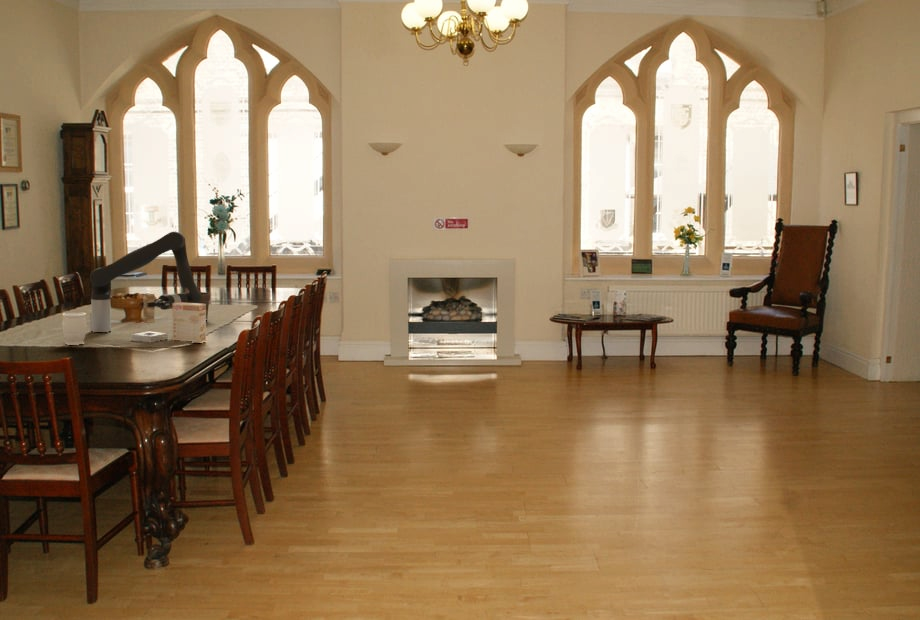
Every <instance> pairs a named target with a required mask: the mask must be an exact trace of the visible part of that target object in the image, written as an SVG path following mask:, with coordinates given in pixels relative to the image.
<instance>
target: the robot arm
mask: <svg viewBox="0 0 920 620" xmlns="http://www.w3.org/2000/svg"><path fill="white" fill-rule="evenodd" d="M169 251H171V252H172V254H173V257H174V259H175V264H176V272H177V276H178V280H179V284H180V286H181V288H182V289H184V290H185V289H187V290H188V291H189V293H187V292H185V293H186V294H182V293H183V292H182V293H180V292H179V293H166V294H161V295H160V296H159V297H158V298H154V302H151V303H148V304H147V307H154V308H160V310H165V311H166V310H167V311H168V310H172V303H178V302H183V303H200V302H201V300H202V296H201V293H200V292H201V291H200V289H199V288H198V286H197V285H196V283H195V280H194V275H193V273H192V272H193V271H192V270H191V267H190V263H189V259H188V255H187V254H188V253H187V246H186V238H185V237H184V235H183V234H181V232H178V231H170V232H168V233H167V234H165V235H164V236H162V237H160V238H159V239H156V240H155V241H153V242H151V243H149V244H146V245H143V246H141V247H140V248H137V249H135V250H133V251H131V252H128V253H126V254H125V255H123V256H122V257H120V258H119V259H117V260H116V261H114V262H112V263H110V264H108V265H106V266H105V265H104V266H102V267H97V268H96V269H94V270H92V271H91V273H90V275H89V281H90V283H91V294H90V296H91V297H90V303H91V305H90V306H91V311H90V312H91V313H89V325H90V326H89V327H90V328H89V329H90V330H89V331H90V332H91V331H93V332H92V333H94V332H107V333H109V332H108V331H112V328H111V327H112V323H111V320H112V319H111V317H112V315H111V309H112V308H111V292H112V281H113V280H115V279H117V278H118V277H120V276H123V275H125V274H129V273H131V272H134V271H136V270H138V269H141V268H143V267H145V266H147V265H148V264H150V263H151V262H153V261H154V260H155V259H157V257H159V256H161V255H162V254H165V253H167V252H169ZM140 307H142V308H143V307H144V302H143V301H141V302H140Z"/></svg>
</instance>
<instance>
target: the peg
mask: <svg viewBox="0 0 920 620" xmlns="http://www.w3.org/2000/svg"><path fill="white" fill-rule="evenodd" d="M142 297H143V301H142V302H144V307H142V308H143V310H142V311H143V313H142V315H143V318H142V319H143V323H145V324H152V323H155V307H147V304H148V303H151V302H154V299H155V293H144V294H143V296H142Z"/></svg>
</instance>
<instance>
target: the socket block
mask: <svg viewBox="0 0 920 620" xmlns="http://www.w3.org/2000/svg"><path fill="white" fill-rule="evenodd" d="M130 337H131V340H132V342H133V341H134V342H139V341H142V342H141V343H147V342H149V343H150V344H152V343H151V342H153V343H156V342H155V341H158V342H161V341H160V340H163V341H166V340H165V339H169V334H168V333H167V332H160V331H159V332H157V331H143V332H138V333H133V334H131V336H130ZM131 340H130V341H131Z"/></svg>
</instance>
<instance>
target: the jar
mask: <svg viewBox="0 0 920 620" xmlns="http://www.w3.org/2000/svg"><path fill="white" fill-rule="evenodd" d="M61 316H62V323H61V324H62V327H61V328H62V332H63V333H62V334H63V337H64V339H65V344H67V345H66V346H69V345H77V346H80V345H79V344H83V345H85V342H84V340H85V337H86V332H87V320H86V316H87V312H81V311H76V312H75V311H73V312H71V311H70V312H64V313H62V314H61ZM65 344H64V345H65Z"/></svg>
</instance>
